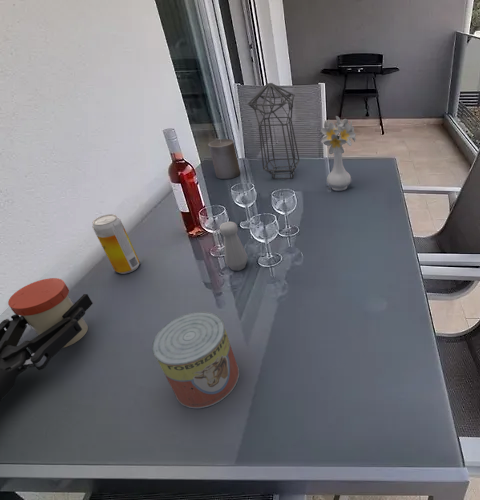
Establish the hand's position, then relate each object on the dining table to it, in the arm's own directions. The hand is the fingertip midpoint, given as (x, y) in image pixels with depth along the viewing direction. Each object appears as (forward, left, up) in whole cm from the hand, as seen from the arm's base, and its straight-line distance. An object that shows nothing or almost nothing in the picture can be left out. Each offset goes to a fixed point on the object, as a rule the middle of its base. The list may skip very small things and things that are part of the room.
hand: (69, 298), depth 75 cm
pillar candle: (-11, +82, -6) cm, 83 cm away
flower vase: (+39, +78, -6) cm, 88 cm away
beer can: (-4, +18, -6) cm, 20 cm away
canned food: (+37, -8, -6) cm, 38 cm away
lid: (+1, -5, +6) cm, 7 cm away
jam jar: (+1, -5, -6) cm, 8 cm away
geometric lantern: (+12, +86, -6) cm, 87 cm away
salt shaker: (+25, +25, -6) cm, 36 cm away
